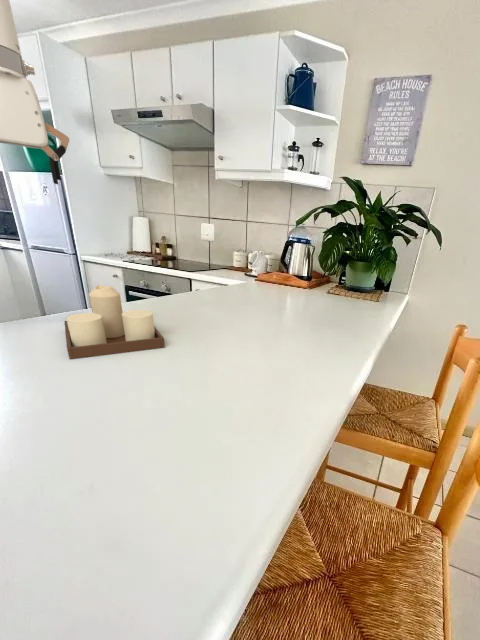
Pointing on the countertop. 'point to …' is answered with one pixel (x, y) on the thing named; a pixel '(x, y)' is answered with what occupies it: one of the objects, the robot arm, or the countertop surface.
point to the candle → (108, 309)
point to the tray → (113, 346)
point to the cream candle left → (86, 329)
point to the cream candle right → (138, 325)
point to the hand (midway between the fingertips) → (26, 180)
